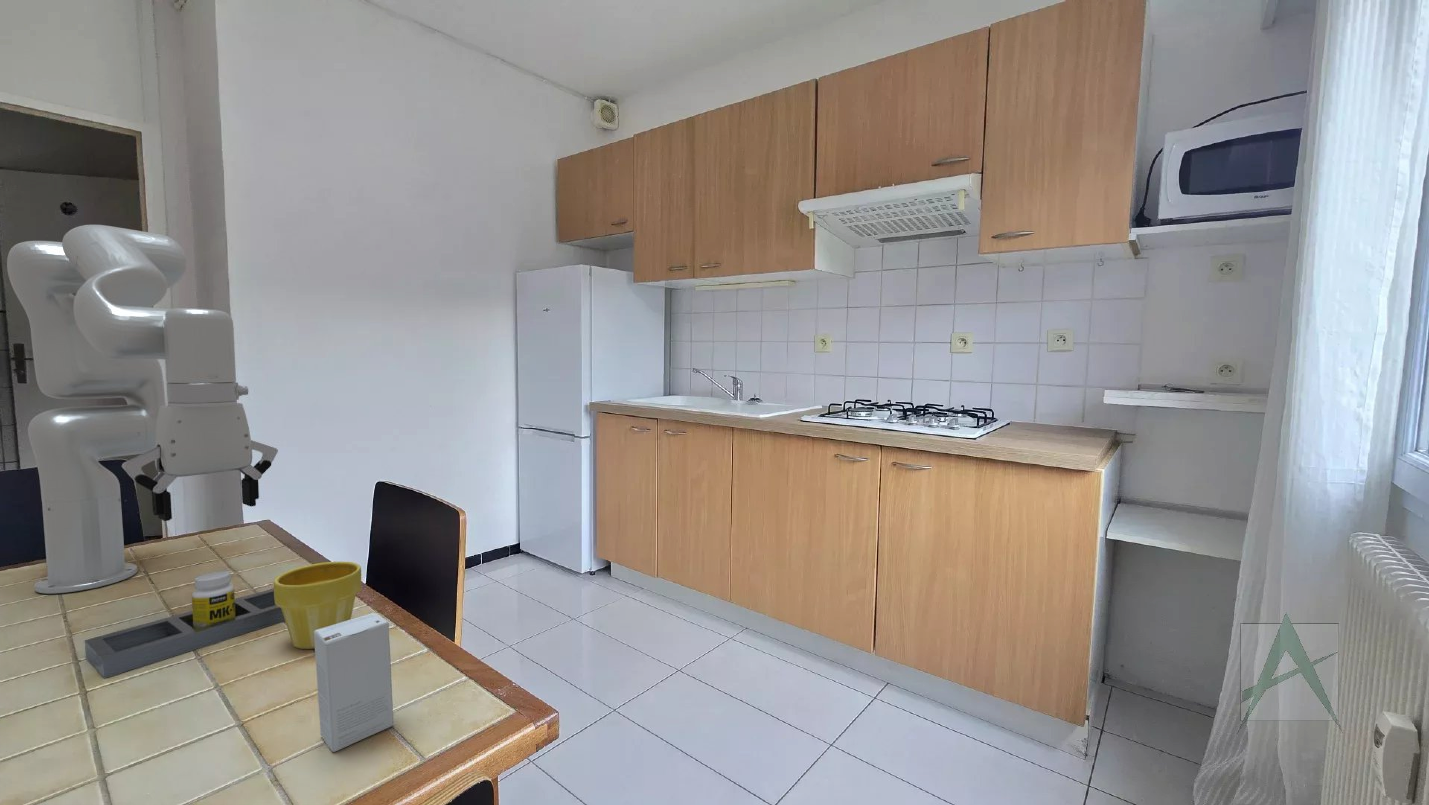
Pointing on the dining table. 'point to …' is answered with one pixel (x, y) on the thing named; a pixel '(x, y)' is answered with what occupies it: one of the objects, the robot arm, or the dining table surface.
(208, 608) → the supplement bottle
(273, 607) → the grey long slotted tray
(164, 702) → the dining table surface
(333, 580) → the plant pot
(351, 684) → the skincare box
